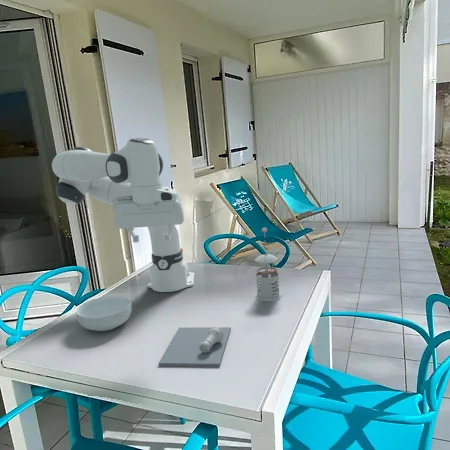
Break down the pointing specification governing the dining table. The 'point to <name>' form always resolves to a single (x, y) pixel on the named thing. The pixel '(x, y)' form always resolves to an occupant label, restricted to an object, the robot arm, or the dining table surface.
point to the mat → (194, 348)
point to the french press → (267, 278)
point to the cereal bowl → (104, 313)
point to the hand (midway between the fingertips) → (152, 240)
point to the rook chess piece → (211, 339)
